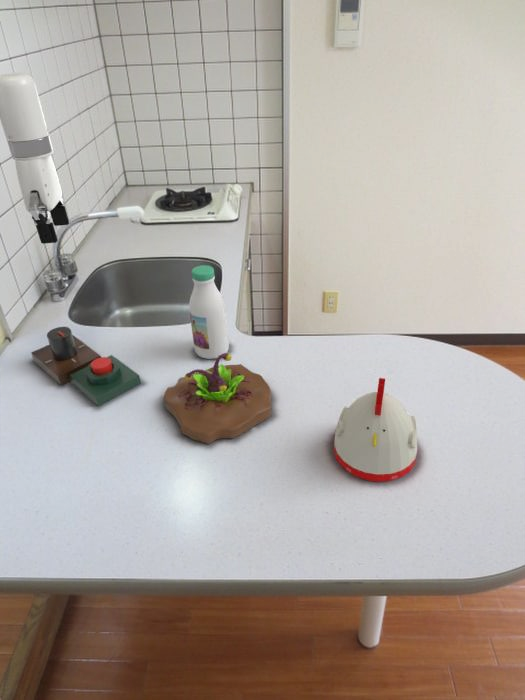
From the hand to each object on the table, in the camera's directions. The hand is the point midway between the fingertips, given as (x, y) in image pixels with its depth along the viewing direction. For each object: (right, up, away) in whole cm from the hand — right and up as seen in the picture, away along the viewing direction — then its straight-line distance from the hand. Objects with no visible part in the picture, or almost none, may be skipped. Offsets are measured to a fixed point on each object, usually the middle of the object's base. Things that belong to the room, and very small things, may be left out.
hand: (56, 233), depth 109 cm
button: (+10, -28, -1) cm, 30 cm away
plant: (+35, -35, -6) cm, 50 cm away
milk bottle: (+32, -24, +10) cm, 41 cm away
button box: (+10, -31, +1) cm, 33 cm away
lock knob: (0, -25, +6) cm, 26 cm away
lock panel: (0, -27, +8) cm, 28 cm away
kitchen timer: (+62, -42, -18) cm, 77 cm away
